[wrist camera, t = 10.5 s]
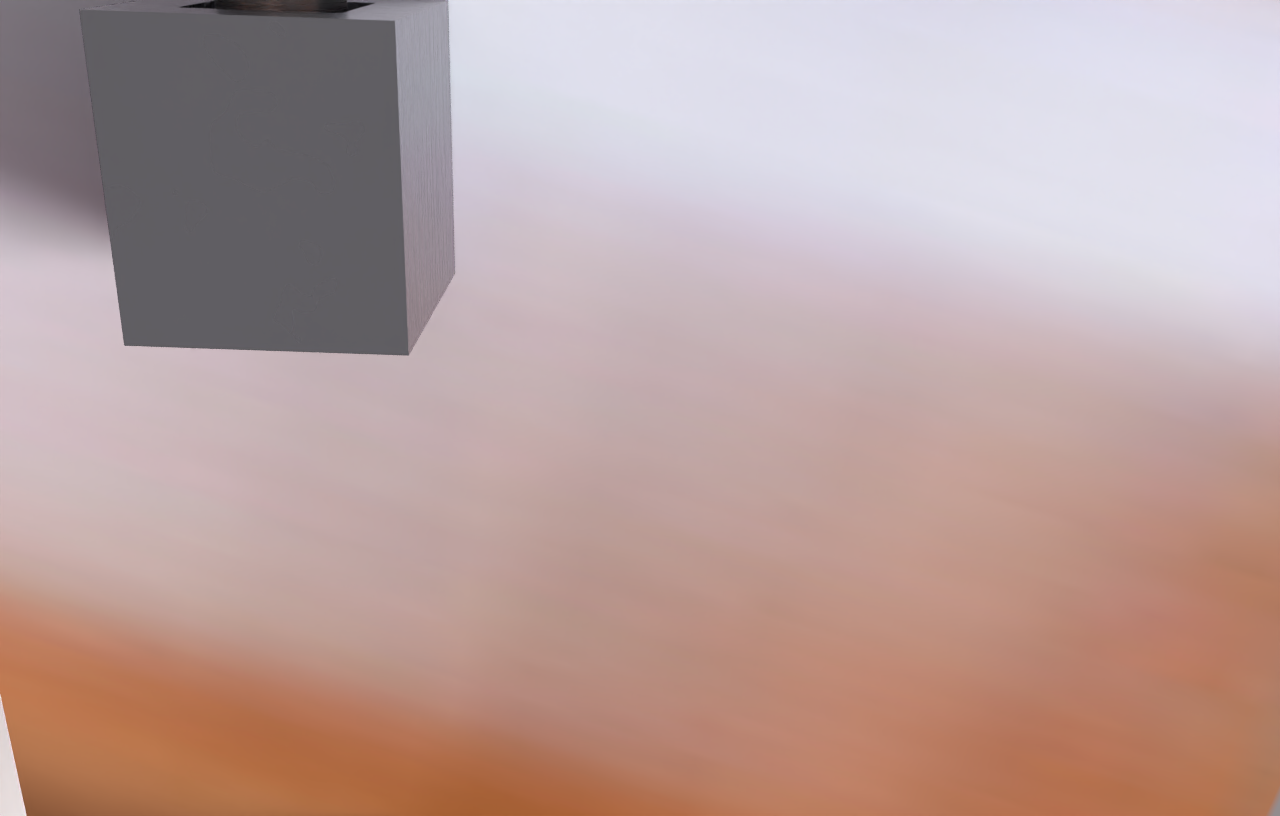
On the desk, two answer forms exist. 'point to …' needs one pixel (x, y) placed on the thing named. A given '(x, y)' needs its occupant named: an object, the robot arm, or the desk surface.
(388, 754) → the desk surface
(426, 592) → the desk surface
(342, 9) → the metal rod with block
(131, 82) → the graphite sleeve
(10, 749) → the robot arm
